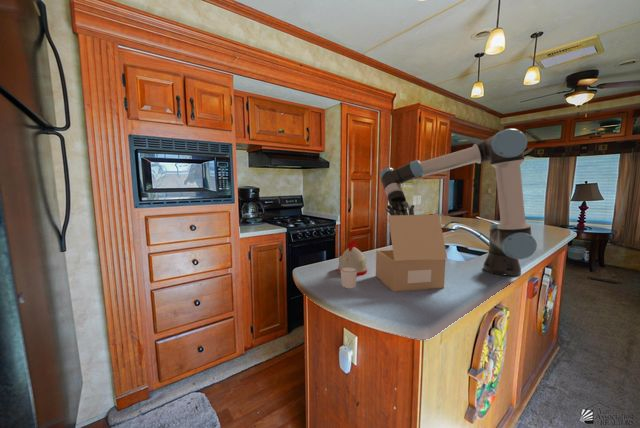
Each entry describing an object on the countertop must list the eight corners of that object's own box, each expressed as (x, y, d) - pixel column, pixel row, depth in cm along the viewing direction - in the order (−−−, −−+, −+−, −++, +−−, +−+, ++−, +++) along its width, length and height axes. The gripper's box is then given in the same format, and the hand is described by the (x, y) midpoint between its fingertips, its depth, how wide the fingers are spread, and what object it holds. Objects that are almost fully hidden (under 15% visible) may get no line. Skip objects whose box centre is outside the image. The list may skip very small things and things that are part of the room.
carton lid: (388, 216, 107) (389, 215, 106) (437, 215, 110) (439, 214, 109) (394, 261, 102) (395, 260, 101) (446, 258, 105) (447, 258, 105)
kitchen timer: (332, 272, 126) (333, 241, 125) (346, 265, 138) (346, 237, 136) (359, 278, 119) (360, 245, 117) (371, 270, 130) (372, 240, 128)
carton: (375, 276, 121) (376, 250, 120) (420, 273, 125) (421, 248, 123) (393, 291, 103) (394, 261, 102) (444, 288, 107) (445, 259, 106)
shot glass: (354, 289, 105) (355, 272, 104) (338, 287, 107) (338, 270, 107) (358, 283, 111) (358, 267, 111) (342, 281, 114) (343, 266, 113)
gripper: (405, 200, 126) (422, 242, 112) (379, 200, 124) (393, 243, 110) (411, 189, 120) (430, 232, 106) (384, 189, 118) (399, 233, 104)
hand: (411, 238), depth 108 cm, fingers closed
